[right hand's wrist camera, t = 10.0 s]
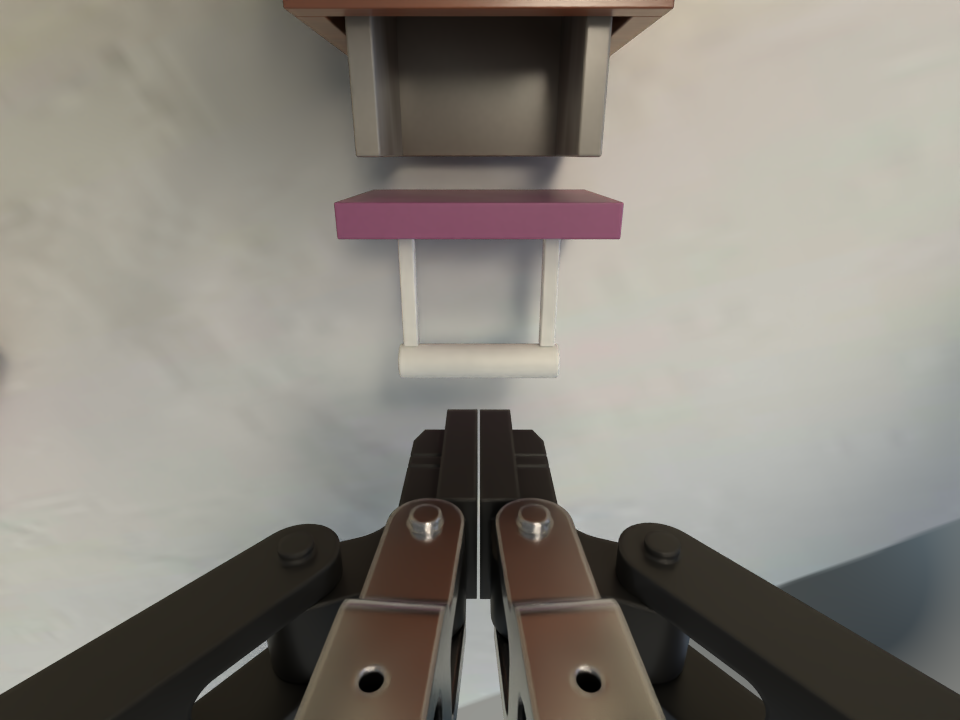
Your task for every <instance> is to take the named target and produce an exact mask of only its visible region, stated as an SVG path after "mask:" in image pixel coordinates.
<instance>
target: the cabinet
mask: <svg viewBox="0 0 960 720" xmlns="http://www.w3.org/2000/svg"><path fill="white" fill-rule="evenodd" d="M283 7H284V9H286V10H287V11H288V12H290V13H291V14H292V15H294V16H295V17H296V18H298V19H299V20H300V21H302V22H303V23H304V24H306V25H307V26H308V27H310V28H311V29H312V30H314V31H315V32H316V33H318V34H319V35H320V36H322V37H323V38H324V39H326V40H327V41H328V42H330V43H331V44H333V45H334V46H335V47H337V48H338V49H339V50H341V51H342V52H343V53H345V54H346V55H347V56H348V51H347V39H346V27H345V16H613V18H612V30H611V43H610V55H609V57H610V56H611V55H612V54H613V53H615V52H616V51H617V50H619V49H620V48H621V47H623V46H624V45H625V44H627V43H628V42H629V41H630V40H632V39H633V38H634V37H636V36H637V35H638V34H640V33H641V32H642V31H644V30H645V29H646V28H648V27H649V26H650V25H652V24H653V23H654V22H656V21H657V20H658V19H659V18H661V17H662V16H664V15H665V14H666V13H668V12H669V11H670V10H671V9H673V7H674V0H283Z"/></svg>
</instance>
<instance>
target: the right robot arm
mask: <svg viewBox="0 0 960 720" xmlns="http://www.w3.org/2000/svg"><path fill="white" fill-rule="evenodd" d="M477 483H478V459H477V409H448V410H447V417H446V425H445V430H424V431H423V432H422V433H421V434H420V435H419V436H418V437H417V438H416V439H415V440H414V442H413V447H412V451H411V457H410V460H409V464H408V468H407V473H406V477H405V481H404V486H403V490H402V494H401V499H400V503H399V507H398V508H396V509H395V510H394V511H393V512H392V513H391V515H390V516H389V518H388V520H387V523H386V526H384V527H383V528H381V529H380V530H378V531H376V532H374V533H371V534H369V535H366V536H363V537H359V538H355V539H351V540H346V541H342V542H339V538H338V536H337V535H336V533H335V532H334V531H332V530H331V529H329V528H328V527H325V526H322V525H317V524H301V525H295V526H291V527H288V528H285V529H283V530H280V531H278V532H276V533H274V534H272V535H271V536H269V537H267V538H266V539H264V540H262V541H261V542H259V543H257V544H255V545H254V546H252V547H250V548H249V549H247V550H245V551H244V552H242V553H240V554H238V555H237V556H235V557H233V558H232V559H230V560H228V561H227V562H225V563H223V564H222V565H220V566H218V567H216V568H215V569H213V570H211V571H210V572H208V573H206V574H205V575H203V576H201V577H199V578H198V579H196V580H194V581H193V582H191V583H189V584H188V585H186V586H184V587H182V588H181V589H179V590H177V591H176V592H174V593H172V594H171V595H169V596H167V597H165V598H164V599H162V600H160V601H159V602H157V603H155V604H154V605H152V606H150V607H148V608H147V609H145V610H143V611H142V612H140V613H138V614H137V615H135V616H133V617H131V618H130V619H128V620H126V621H125V622H123V623H121V624H120V625H118V626H116V627H115V628H113V629H111V630H109V631H108V632H106V633H104V634H103V635H101V636H99V637H98V638H96V639H94V640H92V641H91V642H89V643H87V644H86V645H84V646H82V647H81V648H79V649H77V650H75V651H74V652H72V653H70V654H69V655H67V656H65V657H64V658H62V659H60V660H58V661H57V662H55V663H53V664H52V665H50V666H48V667H47V668H45V669H43V670H41V671H40V672H38V673H36V674H35V675H33V676H31V677H30V678H28V679H26V680H24V681H23V682H21V683H19V684H18V685H16V686H14V687H13V688H11V689H9V690H8V691H6V692H4V693H2V694H1V695H0V720H456V718H457V709H458V700H459V692H460V683H461V675H462V666H463V657H464V649H465V640H466V599H477ZM480 599H490V602H491V619H492V622H493V625H494V640H495V649H496V657H497V666H498V675H499V683H500V692H501V700H502V709H503V718H504V720H960V695H959V694H958V693H956V692H954V691H952V690H951V689H949V688H947V687H946V686H944V685H942V684H941V683H939V682H937V681H935V680H934V679H932V678H930V677H929V676H927V675H925V674H924V673H922V672H920V671H918V670H917V669H915V668H913V667H912V666H910V665H908V664H907V663H905V662H903V661H902V660H900V659H898V658H896V657H895V656H893V655H891V654H890V653H888V652H886V651H884V650H883V649H881V648H879V647H878V646H876V645H874V644H873V643H871V642H869V641H868V640H866V639H864V638H862V637H861V636H859V635H857V634H856V633H854V632H852V631H851V630H849V629H847V628H845V627H844V626H842V625H840V624H839V623H837V622H835V621H834V620H832V619H830V618H828V617H827V616H825V615H823V614H822V613H820V612H818V611H817V610H815V609H813V608H812V607H810V606H808V605H806V604H805V603H803V602H801V601H800V600H798V599H796V598H795V597H793V596H791V595H789V594H788V593H786V592H784V591H783V590H781V589H779V588H778V587H776V586H774V585H772V584H771V583H769V582H767V581H766V580H764V579H762V578H761V577H759V576H757V575H755V574H754V573H752V572H750V571H749V570H747V569H745V568H744V567H742V566H740V565H738V564H737V563H735V562H733V561H732V560H730V559H728V558H727V557H725V556H723V555H721V554H720V553H718V552H716V551H715V550H713V549H711V548H710V547H708V546H706V545H705V544H703V543H701V542H699V541H698V540H696V539H694V538H693V537H691V536H689V535H688V534H686V533H684V532H682V531H680V530H678V529H676V528H673V527H671V526H667V525H663V524H658V523H641V524H636V525H633V526H630V527H628V528H627V529H626V530H624V531H623V532H622V534H621V535H620V538H619V542H614V541H609V540H605V539H601V538H596V537H593V536H589V535H587V534H584V533H582V532H580V531H578V530H576V529H575V526H574V523H573V520H572V518H571V516H570V515H569V513H568V512H567V511H566V510H565V509H564V508H562V507H561V506H559V505H558V504H557V500H556V495H555V491H554V486H553V482H552V477H551V473H550V468H549V464H548V459H547V457H546V450H545V446H544V441H543V440H542V439H541V438H540V437H539V436H538V435H537V434H536V433H535V432H534V431H533V430H512V423H511V415H510V410H480ZM690 638H691V639H693V640H694V641H695V642H697V643H698V644H699V645H701V646H702V647H703V648H705V649H706V650H707V651H709V652H710V653H712V654H713V655H714V656H716V657H717V658H718V659H720V660H721V661H722V662H724V663H725V664H726V665H728V666H729V667H730V668H732V669H733V670H734V671H736V672H737V673H738V674H740V675H741V676H742V677H744V678H745V679H746V680H747V681H748V682H749V683H750V684H751V685H752V686H753V687H754V688H755V689H756V690H757V692H758V693H759V695H760V696H761V698H762V700H763V701H762V700H761V699H760V698H758V697H757V696H756V695H754V694H753V693H752V692H750V691H749V690H748V689H746V688H745V687H744V686H742V685H741V684H740V683H739V682H737V681H736V680H735V679H733V678H732V677H731V676H729V675H728V674H727V673H725V672H724V671H723V670H721V669H720V668H719V667H717V666H716V665H715V664H713V663H712V662H711V661H709V660H708V659H707V658H706V657H704V656H703V655H702V654H700V653H699V652H698V651H696V650H695V649H694V648H692V647H691V646H690V645H688V643H689V639H690ZM266 640H267V643H268V648H266V649H265V650H264V651H262V652H261V653H260V654H258V655H257V656H256V657H254V658H253V659H252V660H250V661H249V662H248V663H247V664H245V665H244V666H243V667H241V668H240V669H239V670H237V671H236V672H235V673H233V674H232V675H231V676H229V677H228V678H227V679H225V680H224V681H223V682H221V683H220V684H219V685H218V686H216V687H215V688H214V689H212V690H211V691H210V692H208V693H207V694H206V695H204V696H203V697H202V698H200V699H199V700H198V701H196V702H195V700H196V699H197V697H198V696H199V694H200V693H201V691H202V690H203V689H204V688H205V687H206V686H207V685H208V684H209V683H210V682H211V681H212V680H214V679H215V678H216V677H218V676H219V675H220V674H222V673H223V672H224V671H226V670H227V669H228V668H230V667H231V666H232V665H234V664H235V663H236V662H238V661H239V660H240V659H242V658H243V657H244V656H246V655H247V654H248V653H250V652H251V651H253V650H254V649H255V648H257V647H258V646H259V645H261V644H262V643H263V642H265V641H266ZM194 702H195V703H194Z"/></svg>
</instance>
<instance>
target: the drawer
mask: <svg viewBox="0 0 960 720" xmlns="http://www.w3.org/2000/svg"><path fill="white" fill-rule="evenodd" d="M612 18H613V16H345V27H346V39H347V51H348V64H349V76H350V88H351V100H352V112H353V125H354V137H355V149H356V156H357V157H397V156H562V157H600V156H601V154H602V143H603V130H604V118H605V105H606V93H607V80H608V68H609V55H610V43H611V30H612ZM623 205H624V204H623V203H622V202H620V201H617V200H614V199H611V198H608V197H605V196H602V195H599V194H596V193H593V192H590V191H587V190H371V191H368V192H365V193H362V194H359V195H356V196H353V197H350V198H347V199H344V200H341V201H338V202H335V203H334V208H335V218H336V228H337V238H338V239H398V254H399V272H400V289H401V306H402V324H403V341H404V344H401V345H400V348H399V356H398V366H399V374H400V377H402V378H557V377H558V374H559V368H560V353H559V347H558V345H557V344H555V327H556V309H557V291H558V273H559V256H560V239H620V235H621V225H622V215H623ZM415 239H543V255H542V278H541V301H540V323H539V344H419V319H418V298H417V276H416V254H415Z"/></svg>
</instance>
